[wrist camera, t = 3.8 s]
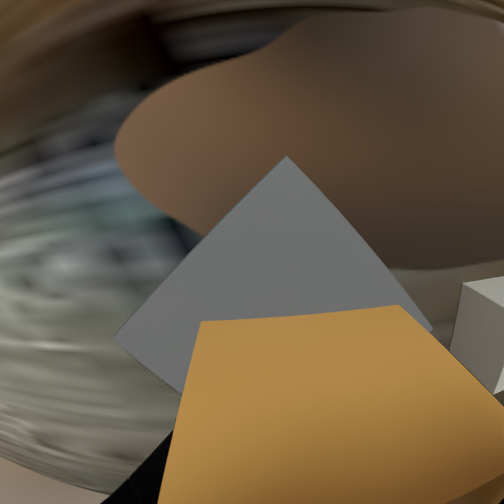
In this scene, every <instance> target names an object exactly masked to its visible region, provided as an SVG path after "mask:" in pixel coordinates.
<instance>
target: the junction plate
mask: <svg viewBox="0 0 504 504" xmlns="http://www.w3.org/2000/svg"><path fill="white" fill-rule="evenodd" d="M398 304H399V305H400V306H401V307H402V308H403V309H404V310H405V311H406V312H407V313H408V314H409V315H411V316H412V317H413V318H414V319H415V320H416V321H417V322H418V323H419V324H420V325H421V326H422V327H424V328H425V329H426V330H427V331H428V332H429V333H430V332H431V331H432V330H433V328H432V326H431V325H430V323H429V322H428V321H427V319H426V318H425V317H424V315H423V314H422V313H421V311H420V310H419V309H418V307H417V306H416V305H415V303H414V302H413V301H412V299H411V298H410V297H409V295H408V294H407V293H406V291H405V290H404V289H403V288H402V286H401V285H400V284H399V282H398V281H397V280H396V279H395V277H394V276H393V275H392V274H391V272H390V271H389V270H388V269H387V267H386V266H385V265H384V264H383V262H382V261H381V260H380V259H379V258H378V256H377V255H376V254H375V253H374V252H373V250H372V249H371V248H370V247H369V246H368V244H367V243H366V242H365V241H364V240H363V238H362V237H361V236H360V235H359V234H358V233H357V232H356V230H355V229H354V228H353V227H352V226H351V225H350V223H349V222H348V221H347V220H346V219H345V218H344V217H343V216H342V214H341V213H340V212H339V211H338V210H337V209H336V208H335V207H334V206H333V204H332V203H331V202H330V201H329V200H328V199H327V198H326V197H325V196H324V194H323V193H322V192H321V191H320V190H319V189H318V188H317V187H316V186H315V185H314V184H313V183H312V182H311V181H310V180H309V178H308V177H307V176H306V175H305V174H304V173H303V172H302V171H301V170H300V169H299V168H298V167H297V166H296V165H295V164H294V163H293V162H292V161H291V160H290V159H289V158H288V157H287V156H286V157H284V158H282V160H280V161H279V162H278V163H277V164H276V165H275V166H274V167H273V168H272V169H271V170H270V171H269V172H268V173H267V174H266V175H265V176H264V177H263V178H262V179H261V180H260V181H259V182H258V183H257V184H256V185H255V186H254V187H253V188H252V189H251V190H250V191H249V192H248V193H247V194H246V195H245V196H244V197H243V198H242V199H241V200H240V201H239V202H238V203H237V204H236V205H235V206H234V207H233V208H232V209H231V210H230V211H229V212H228V213H227V214H226V215H225V216H224V217H223V218H222V219H221V220H220V221H219V222H218V223H217V224H216V225H215V226H214V227H213V229H211V231H209V233H208V234H207V235H206V236H205V237H204V238H203V239H202V240H201V241H200V242H199V243H198V244H197V245H196V246H195V247H194V248H193V249H192V250H191V251H190V252H189V253H188V254H187V256H186V257H185V258H184V259H183V260H182V261H181V262H180V263H179V264H178V265H177V266H176V267H175V268H174V269H173V270H172V272H171V273H170V274H169V275H168V276H167V277H166V278H165V279H164V280H163V281H162V282H161V283H160V284H159V286H158V287H157V288H156V289H155V290H154V291H153V292H152V293H151V294H150V295H149V296H148V298H147V299H146V300H145V301H144V302H143V303H142V304H141V305H140V306H139V308H138V309H137V310H136V311H135V312H134V313H133V314H132V315H131V316H130V318H129V319H128V320H127V321H126V322H125V323H124V324H123V325H122V327H121V328H120V329H119V330H118V331H117V333H116V334H115V336H114V337H113V338H112V339H114V340H115V341H116V342H117V343H118V344H119V345H120V346H122V347H123V348H124V349H125V350H126V351H127V352H129V353H130V354H131V355H132V356H133V357H135V358H136V359H137V360H138V361H139V362H141V363H142V364H143V365H144V366H145V367H147V368H148V369H149V370H150V371H152V372H153V373H154V374H156V375H157V376H158V377H159V378H161V379H162V380H163V381H165V382H166V383H167V384H169V385H170V386H171V387H173V388H174V389H175V390H177V391H178V392H179V393H181V394H183V390H184V386H185V382H186V378H187V374H188V370H189V366H190V362H191V358H192V354H193V350H194V347H195V343H196V339H197V335H198V331H199V327H200V324H201V321H218V320H238V319H256V318H271V317H284V316H297V315H309V314H320V313H330V312H340V311H349V310H358V309H367V308H375V307H383V306H391V305H398Z"/></svg>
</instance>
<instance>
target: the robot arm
mask: <svg viewBox="0 0 504 504" xmlns="http://www.w3.org/2000/svg"><path fill="white" fill-rule="evenodd" d="M173 432H174V430H173V431H172V432H171V433H170V434H169V435H168V436H167V437H166V438H165V439H164V440H163V442H162V443H161V444H160V445H159V446H158V447H157V448H156V449H155V450H154V451H153V452H152V453H151V454H150V456H149V457H148V458H147V459H146V460H145V461H144V462H143V463H142V464H141V465H140V466H139V467H138V468H137V469H136V470H135V471H134V472H133V473H132V474H131V475H130V476H129V478H130V479H126V480H125V481H124V482H123V484H122V485H121V486H120V487H118V488H117V489H116V490H115V491H114V492H113V493H112V494H111V495H110V496H109V497H108V498H107V499H105V500H104V501H103V502H102V503H100V504H158V499H159V494H160V490H161V485H162V480H163V476H164V471H165V467H166V462H167V458H168V453H169V449H170V445H171V440H172V436H173ZM499 504H504V498H503V499H502V500H501V502H500V503H499Z"/></svg>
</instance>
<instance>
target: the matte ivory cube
mask: <svg viewBox="0 0 504 504" xmlns="http://www.w3.org/2000/svg"><path fill="white" fill-rule="evenodd" d="M449 351H450V352H451V353H452V354H453V355H454V356H455V357H456V358H457V359H458V360H459V361H460V362H461V363H462V364H463V365H464V366H465V367H466V368H467V369H468V370H469V371H470V372H471V373H472V374H473V375H474V376H475V377H476V378H477V379H478V380H479V381H480V382H481V383H482V384H483V385H484V386H485V387H486V388H487V389H488V390H489V391H490V392H491V393H492V394H495V393H498V392H500V391H502V390H504V276H503V277H497V278H491V279H485V280H479V281H472V282H466V283H462V289H461V295H460V301H459V307H458V312H457V317H456V322H455V327H454V332H453V336H452V341H451V345H450V349H449Z"/></svg>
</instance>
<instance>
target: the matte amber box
mask: <svg viewBox="0 0 504 504" xmlns="http://www.w3.org/2000/svg"><path fill="white" fill-rule="evenodd" d="M503 498H504V407H503V406H502V405H501V404H500V403H499V402H498V401H497V400H496V399H495V398H494V397H493V396H492V395H491V393H490V392H489V391H488V390H487V389H486V388H485V387H484V386H483V385H482V384H481V383H480V382H479V381H478V380H477V379H476V378H475V377H474V376H473V375H472V374H471V373H470V372H469V371H468V370H467V369H466V368H465V367H464V366H463V365H462V364H461V363H460V362H459V361H458V360H457V359H456V358H455V357H454V356H453V355H452V354H451V353H450V352H449V351H448V350H447V349H446V348H445V347H444V346H442V345H441V344H440V343H439V342H438V341H437V340H436V339H435V338H434V337H433V336H432V335H431V334H430V333H429V332H428V331H427V330H426V329H425V328H424V327H422V326H421V325H420V324H419V323H418V322H417V321H416V320H415V319H414V318H413V317H412V316H411V315H409V314H408V313H407V312H406V311H405V310H404V309H403V308H402V307H401V306H400V305H399V304H398V305H391V306H383V307H375V308H367V309H358V310H349V311H340V312H330V313H320V314H309V315H297V316H284V317H271V318H256V319H238V320H218V321H201V324H200V327H199V331H198V335H197V339H196V343H195V347H194V350H193V354H192V358H191V362H190V366H189V370H188V374H187V378H186V382H185V386H184V390H183V394H182V398H181V402H180V407H179V411H178V415H177V419H176V423H175V427H174V432H173V436H172V440H171V445H170V449H169V453H168V458H167V462H166V467H165V471H164V476H163V480H162V485H161V490H160V494H159V499H158V504H499V503H500V502H501V500H502V499H503Z"/></svg>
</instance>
